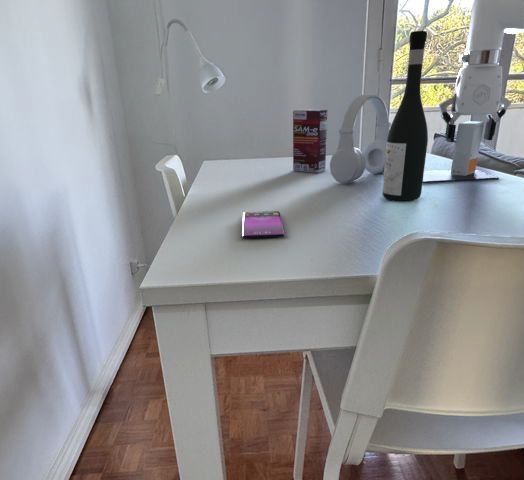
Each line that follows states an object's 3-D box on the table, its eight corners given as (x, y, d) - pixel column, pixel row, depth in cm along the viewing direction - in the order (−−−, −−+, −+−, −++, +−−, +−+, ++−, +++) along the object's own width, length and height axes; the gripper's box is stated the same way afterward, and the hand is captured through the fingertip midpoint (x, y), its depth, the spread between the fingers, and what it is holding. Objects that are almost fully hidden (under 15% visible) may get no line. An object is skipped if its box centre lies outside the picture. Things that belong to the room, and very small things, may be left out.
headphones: (356, 186, 115) (361, 96, 105) (327, 182, 120) (330, 97, 110) (395, 173, 128) (403, 92, 118) (368, 171, 133) (373, 93, 123)
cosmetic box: (466, 176, 118) (475, 123, 112) (449, 175, 120) (457, 123, 114) (475, 172, 122) (485, 121, 116) (459, 171, 124) (467, 121, 118)
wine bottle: (390, 204, 97) (407, 29, 83) (376, 196, 104) (389, 34, 89) (427, 201, 98) (450, 28, 84) (410, 193, 105) (429, 32, 90)
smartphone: (279, 215, 92) (279, 210, 92) (284, 237, 79) (284, 231, 79) (242, 217, 92) (242, 212, 92) (241, 239, 79) (241, 233, 79)
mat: (473, 170, 127) (473, 168, 127) (498, 179, 115) (499, 177, 115) (393, 174, 127) (393, 172, 126) (410, 184, 115) (410, 182, 114)
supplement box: (292, 171, 137) (291, 110, 129) (300, 168, 140) (300, 109, 132) (318, 173, 133) (319, 110, 125) (326, 170, 136) (328, 109, 128)
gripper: (451, 61, 105) (440, 144, 113) (527, 57, 105) (510, 140, 114) (438, 62, 111) (428, 140, 120) (510, 59, 112) (495, 137, 120)
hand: (468, 140), depth 117 cm, fingers open, 9 cm apart
